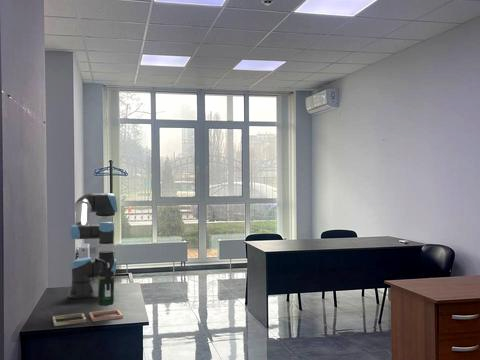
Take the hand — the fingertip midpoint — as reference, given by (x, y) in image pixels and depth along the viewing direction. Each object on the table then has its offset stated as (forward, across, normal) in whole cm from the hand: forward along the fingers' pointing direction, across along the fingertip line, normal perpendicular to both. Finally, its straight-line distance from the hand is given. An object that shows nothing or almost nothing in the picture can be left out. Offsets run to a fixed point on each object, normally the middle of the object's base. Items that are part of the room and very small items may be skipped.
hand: (106, 294), depth 241 cm
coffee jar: (+5, 0, 0) cm, 5 cm away
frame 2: (+11, 0, 0) cm, 11 cm away
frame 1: (+11, 0, -18) cm, 21 cm away
